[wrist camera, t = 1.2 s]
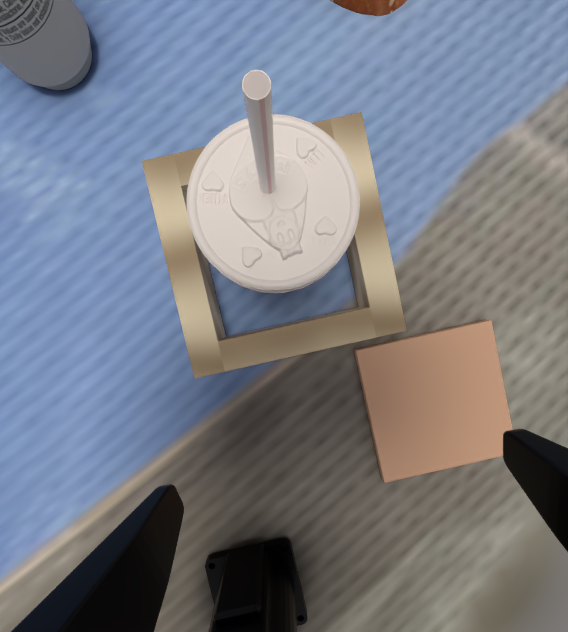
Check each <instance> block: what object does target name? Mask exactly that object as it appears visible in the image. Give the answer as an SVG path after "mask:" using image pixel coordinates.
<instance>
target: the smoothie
mask: <svg viewBox="0 0 568 632" xmlns="http://www.w3.org/2000/svg"><path fill="white" fill-rule="evenodd" d="M242 88H243V94H244V100H245V105H246V111H247V117H248V118H246V119H243V120H241V121H239V122H236V123H234V124H232V125H231V126H229V127H227V128H226V129H224V130H223V131H221V132H220V133H219V134H218V135H217V136H215V137H214V138H213V139H212V140H211V141H210V142H209V143H208V145H207V146H206V147H205V148H204V150H203V151H202V152H201V154H200V156H199V157H198V159H197V161H196V163H195V165H194V167H193V170H192V173H191V176H190V179H189V183H188V189H187V214H188V220H189V224H190V228H191V231H192V234H193V236H194V238H195V241H196V243H197V244H198V246H199V248H200V250H201V251H202V253H203V254H204V255H205V257H206V258H207V259H208V260H209V261H210V263H211V264H212V265H213V266H215V267H216V268H217V269H218V270H219V271H220V273H221V274H222V275H223V276H225V277H227V278H228V279H230V280H232V281H233V282H235V283H236V284H238V285H240V286H241V287H245V288H248V289H251V290H255V291H258V292H261V293H285V292H290V291H294V290H298V289H302V288H305V287H306V286H308V285H310V284H312V283H314V282H316V281H317V280H319V279H321V278H322V277H323V276H325V275H326V274H327V273H328V272H329V271H330V270H331V269H332V268H333V267H334V266H335V265H336V264H337V263H338V261H339V260H340V258H341V257H342V255H343V254H344V253H345V251H346V249H347V248H348V246H349V244H350V242H351V240H352V238H353V236H354V233H355V230H356V227H357V223H358V218H359V209H360V196H359V188H358V183H357V179H356V176H355V172H354V170H353V168H352V165H351V163H350V161H349V159H348V158H347V156H346V154H345V153H344V151H343V150H342V149H341V147H340V146H339V145H338V144H337V143H336V142H335V141H334V140H333V139H332V138H331V137H330V136H329V135H328V134H327V133H325V132H324V131H323V130H321V129H320V128H318V127H317V126H315V125H313V124H311V123H309V122H307V121H304V120H302V119H299V118H296V117H292V116H287V115H278V114H272V95H271V81H270V78H269V77H268V75H267V74H266V73H265V72H263V71H260V70H253V71H250V72H248V73H247V74H246V75H245V77H244V78H243V81H242Z"/></svg>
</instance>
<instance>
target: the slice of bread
mask: <svg viewBox="0 0 568 632" xmlns="http://www.w3.org/2000/svg"><path fill="white" fill-rule="evenodd" d="M330 1H332V2H334V3H336V4H338V5H339V6H341V7H343V8H346V9H348V10H351V11H354V12H356V13H360V14H365V15H375V16H383V15H387V14H390V13H391V12H393V11H395V10H396V9H397V8H399V7H400V6H402V5H403V4H404V3H405V2H406V1H407V0H330Z"/></svg>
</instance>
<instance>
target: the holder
mask: <svg viewBox="0 0 568 632" xmlns="http://www.w3.org/2000/svg"><path fill="white" fill-rule="evenodd" d="M311 124H313V125H315V126H317V127H318V128H320V129H321V130H323V131H324V132H325V133H327V134H328V135H329V136H330V137H331V138H332V139H333V140H334V141H335V142H336V143H337V144H338V145H339V146H340V147H341V149H342V150H343V151H344V153H345V154H346V156H347V158H348V159H349V161H350V163H351V165H352V168H353V170H354V172H355V176H356V179H357V183H358V188H359V196H360V209H359V218H358V223H357V227H356V230H355V233H354V236H353V238H352V240H351V242H350V244H349V246H348V248H347V249H346V251H347V256H348V261H349V265H350V270H351V275H352V279H353V284H354V289H355V293H356V298H357V303H358V307H356V308H352V309H347V310H343V311H339V312H334V313H330V314H325V315H321V316H316V317H312V318H308V319H303V320H299V321H294V322H290V323H285V324H281V325H276V326H272V327H268V328H263V329H259V330H254V331H250V332H245V333H241V334H237V335H232V336H228V337H226V335H225V330H224V326H223V322H222V318H221V313H220V309H219V305H218V301H217V296H216V292H215V288H214V284H213V280H212V275H211V271H210V267H209V263H208V259H207V258H206V257H205V255H204V254H203V253H202V251H201V250H200V248H199V246H198V244H197V243H196V241H195V238H194V236H193V234H192V231H191V228H190V224H189V220H188V214H187V189H188V183H189V179H190V176H191V173H192V170H193V167H194V165H195V163H196V161H197V159H198V157H199V156H200V154H201V152H202V151H203V150H204V148H205V147H203V148H198V149H194V150H189V151H185V152H180V153H176V154H171V155H167V156H162V157H158V158H154V159H149V160H145V161H142V164H143V168H144V172H145V176H146V180H147V184H148V188H149V192H150V197H151V201H152V205H153V209H154V213H155V217H156V221H157V225H158V230H159V234H160V238H161V242H162V246H163V250H164V254H165V259H166V263H167V267H168V271H169V275H170V279H171V283H172V287H173V292H174V296H175V300H176V304H177V308H178V312H179V316H180V320H181V325H182V329H183V333H184V337H185V341H186V345H187V349H188V353H189V358H190V362H191V366H192V370H193V374H194V378H199V377H204V376H208V375H213V374H217V373H222V372H226V371H230V370H235V369H239V368H244V367H248V366H252V365H257V364H261V363H266V362H270V361H275V360H279V359H283V358H288V357H292V356H297V355H301V354H306V353H310V352H314V351H319V350H323V349H328V348H332V347H337V346H341V345H345V344H350V343H354V342H359V341H363V340H367V339H372V338H376V337H381V336H385V335H390V334H394V333H398V332H403V331H407V330H406V325H405V320H404V315H403V311H402V306H401V301H400V296H399V291H398V286H397V282H396V277H395V272H394V267H393V262H392V257H391V252H390V248H389V243H388V238H387V233H386V228H385V223H384V218H383V214H382V209H381V204H380V199H379V194H378V189H377V184H376V180H375V175H374V170H373V165H372V160H371V155H370V151H369V146H368V141H367V136H366V131H365V126H364V121H363V117H362V112H360V113H355V114H351V115H346V116H342V117H337V118H333V119H328V120H324V121H319V122H315V123H311Z"/></svg>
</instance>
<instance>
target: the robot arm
mask: <svg viewBox="0 0 568 632" xmlns="http://www.w3.org/2000/svg"><path fill="white" fill-rule="evenodd" d="M503 459H504V461H505V464H506V466H507V467H508V469H509V470H510V472H511V473H512V474H513V476H514V477H515V479H516V480H517V482H518V483H519V485H520V486H521V488H522V489H523V490H524V492H525V493H526V495H527V496H528V498H529V499H530V501H531V502H532V503H533V505H534V506H535V508H536V509H537V511H538V512H539V514H540V515H541V516H542V518H543V519H544V521H545V522H546V524H547V525H548V527H549V528H550V529H551V531H552V532H553V533H554V535H555V536H556V537H557V539H558V540H559V541H560V543H561V544H562V545H563V546H564V548H565V549H566V550H567V551H568V448H566V447H564V446H561V445H559V444H557V443H554V442H552V441H550V440H548V439H545V438H543V437H541V436H539V435H536V434H534V433H532V432H530V431H527V430H524V429H515V430H509V431H505V432H504V433H503ZM183 514H184V506H183V502H182V500H181V498H180V496H179V494H178V492H177V490H176V488H175V486H174V485H172V484H169V485H163V486H159V487H158V488H156V489H155V490H154V491H153V492H152V493H151V494H150V495H149V496H148V497H147V498H146V499H145V500H144V501H143V502H142V503H141V504H140V505H139V506H138V507H137V508H136V509H135V510H134V511H133V512H132V513H131V514H130V515H129V516H128V517H127V518H126V519H125V520H124V521H123V522H122V523H121V524H120V525H119V526H118V527H117V528H116V529H115V530H114V531H113V532H112V533H111V534H110V535H109V536H108V537H107V538H106V539H105V540H104V541H103V542H101V543H100V544H99V545H98V546H97V547H96V548H95V549H94V550H93V551H92V552H91V553H90V554H89V555H88V556H87V557H86V558H85V559H84V560H83V561H82V562H81V563H80V564H79V565H78V566H77V567H76V568H75V569H74V570H73V571H72V572H71V573H70V574H69V575H68V576H67V577H66V578H65V579H64V580H63V581H62V582H61V583H60V584H59V585H58V586H57V587H56V588H55V589H54V590H53V591H52V592H51V593H50V594H49V595H48V596H47V597H46V598H45V599H44V600H43V601H42V602H41V603H40V604H39V605H38V606H37V607H36V608H35V609H34V610H33V611H32V612H31V613H30V614H29V615H27V616H26V617H25V618H24V619H23V620H22V621H21V622H20V623H19V624H18V625H17V626H16V627H15V628H14V629H13V630H12V631H11V632H154V629H155V626H156V622H157V619H158V616H159V612H160V609H161V606H162V602H163V599H164V596H165V592H166V589H167V585H168V582H169V577H170V573H171V569H172V565H173V560H174V555H175V551H176V546H177V542H178V537H179V532H180V528H181V523H182V519H183ZM283 546H286V547H285V548H283ZM212 563H214V564H212ZM205 568H206V572H207V577H208V581H209V585H210V589H211V593H212V597H213V601H214V610H213V614H212V619H211V623H210V628H209V632H297V626H298V625H302V624H305V623H306V621H307V610H306V605H305V601H304V597H303V592H302V588H301V584H300V580H299V575H298V571H297V567H296V562H295V558H294V554H293V550H292V545H291V542H290V540H289V539H287V538H281V539H277V540H273V541H268V542H264V543H259V544H255V545H251V546H246V547H242V548H238V549H233V550H229V551H224V552H220V553H216V554H212V555H209V556H208V558H207V560H206V564H205Z"/></svg>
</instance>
